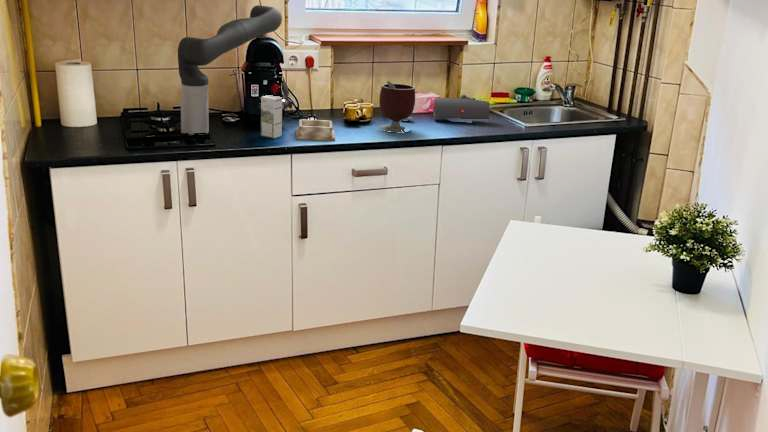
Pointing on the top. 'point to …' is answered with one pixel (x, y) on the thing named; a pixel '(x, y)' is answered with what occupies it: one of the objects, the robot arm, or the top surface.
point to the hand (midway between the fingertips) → (272, 106)
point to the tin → (357, 101)
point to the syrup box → (271, 116)
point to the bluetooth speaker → (461, 108)
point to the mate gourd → (396, 104)
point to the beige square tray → (315, 130)
